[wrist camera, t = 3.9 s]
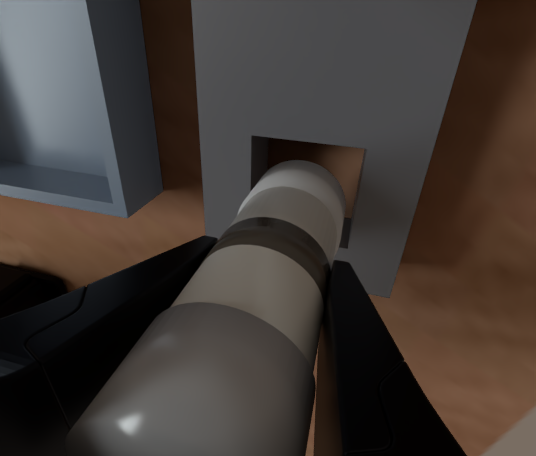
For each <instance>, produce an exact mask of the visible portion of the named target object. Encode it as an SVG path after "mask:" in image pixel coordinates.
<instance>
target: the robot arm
mask: <svg viewBox="0 0 536 456" xmlns="http://www.w3.org/2000/svg"><path fill="white" fill-rule="evenodd" d="M218 240H219V239H218V238H216V237H211V236H201V237H199V238H197V239H194V240H192V241H190V242H187V243H185V244H183V245H180V246H178V247H176V248H173V249H171V250H169V251H166V252H164V253H161V254H159V255H157V256H154V257H152V258H150V259H147V260H145V261H143V262H140V263H138V264H135V265H133V266H131V267H128V268H126V269H124V270H121V271H119V272H117V273H114V274H112V275H110V276H107V277H105V278H102V279H100V280H98V281H95V282H93V283H91V284H88V285H87V287H86V286H83V287H81V288H79V289H76V290H74V291H72V292H69V293H67V292H66V289H65V286H64V284H63V282H62V281H61V280H60V279H59V278H56V277H53V276H48V275H44V274H40V273H36V272H31V271H27V270H23V269H18V268H14V267H10V266H6V265H1V264H0V456H67V455H66V451H65V439H66V436H67V434H68V433H69V431H70V430H71V429H72V427H73V426H74V425H75V423H76V422H77V421H78V419H79V418H80V417H81V415H82V414H83V413H84V411H85V410H86V409H87V407H88V406H89V405H90V403H91V402H92V401H93V399H94V398H95V397H96V396H97V394H98V393H99V392H100V390H101V389H102V388H103V386H104V385H105V384H106V382H107V381H108V380H109V378H110V377H111V376H112V374H113V373H114V372H115V370H116V369H117V368H118V366H119V365H120V364H121V362H122V361H123V360H124V359H125V357H126V356H127V355H128V353H129V352H130V351H131V349H132V348H133V347H134V345H135V344H136V343H137V341H138V340H139V339H140V337H141V336H142V335H143V333H144V332H145V331H146V329H147V328H148V327H149V325H150V324H151V323H152V322H153V320H154V319H155V318H156V317H157V316H158V315H159V314H160V313H162V312H163V311H165V310H167V309H168V308H170V307H171V305H172V304H173V302H174V301H175V300H176V298H177V297H178V296H179V294H180V293H181V292H182V290H183V289H184V287H185V286H186V285H187V283H188V282H189V281H190V279H191V278H192V277H193V275H194V274H195V272H196V271H197V270H198V268H199V266H200V264H201V263H202V261H203V260H204V259H205V257H206V256H207V255H208V253H209V252H210V251H211V249H212V248H213V246H214V245H215V244H216V242H217V241H218ZM314 456H467V455H466V454H465V452H464V451H463V449H462V448H461V447H460V445H459V444H458V442H457V441H456V440H455V438H454V437H453V435H452V434H451V432H450V431H449V430H448V428H447V427H446V425H445V424H444V422H443V421H442V420H441V418H440V417H439V415H438V414H437V412H436V411H435V409H434V408H433V406H432V405H431V403H430V402H429V400H428V399H427V397H426V395H425V394H424V392H423V390H422V389H421V387H420V386H419V384H418V382H417V381H416V379H415V377H414V375H413V374H412V372H411V370H410V368H409V367H408V365H407V363H406V362H404V358H403V356H402V354H401V353H400V351H399V349H398V347H397V345H396V344H395V342H394V340H393V338H392V337H391V335H390V333H389V331H388V330H387V328H386V326H385V324H384V322H383V321H382V319H381V317H380V315H379V314H378V312H377V310H376V308H375V306H374V305H373V303H372V301H371V299H370V298H369V296H368V294H367V292H366V291H365V289H364V287H363V285H362V283H361V282H360V280H359V278H358V276H357V275H356V273H355V271H354V269H353V267H352V266H351V264H350V263H349V262H346V261H340V260H334V261H333V263H332V268H331V273H330V279H329V284H328V290H327V296H326V303H325V311H324V317H323V322H322V326H321V331H320V337H319V345H318V361H317V385H316V409H315V433H314Z"/></svg>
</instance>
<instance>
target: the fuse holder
mask: <svg viewBox="0 0 536 456" xmlns="http://www.w3.org/2000/svg"><path fill="white" fill-rule="evenodd" d="M476 3H477V0H191V7H192V23H193V39H194V55H195V71H196V87H197V103H198V119H199V135H200V151H201V167H202V183H203V199H204V216H205V232H206V236H211V237H216V238H218V239H219V238H220V237H221V236H222V234H223V233H224V232H225V231H226V230H227V229H228V227H229V226H230V225H231V223H232V222H233V221H234V219H235V218H236V217H237V215H238V211H239V209H240V206H241V205H242V203H243V201H244V200H245V199H246V197H247V196H248V195H249V193H250V192H251V191H252V189H253V188H254V187H255V185H256V184H257V183H258V181H259V180H260V179H261V178H262V176H263V175H264V174H265V173H266V172H267V166H268V142H269V137H270V138H279V139H287V140H296V141H304V142H313V143H321V144H330V145H338V146H347V147H355V148H364V149H365V150H364V155H363V160H362V166H361V171H360V176H359V181H358V187H357V192H356V197H355V203H354V208H353V213H352V218H351V219H348V218H344V221H343V228H342V234H341V240H340V244H339V248H338V250H337V253H336V254H335V256H334V259H333V261H334V260H340V261H346V262H349V263H350V264H351V266H352V267H353V269H354V271H355V273H356V275H357V276H358V278H359V280H360V282H361V283H362V285H363V287H364V289H365V291H366V292H367V294H371V295H376V296H381V297H386V298H390V295H391V291H392V288H393V285H394V281H395V278H396V274H397V271H398V268H399V264H400V261H401V257H402V254H403V251H404V247H405V244H406V240H407V237H408V234H409V230H410V227H411V224H412V220H413V217H414V213H415V210H416V207H417V203H418V200H419V196H420V193H421V190H422V186H423V183H424V179H425V176H426V173H427V169H428V166H429V162H430V159H431V156H432V152H433V149H434V146H435V142H436V139H437V135H438V132H439V129H440V125H441V122H442V118H443V115H444V112H445V108H446V105H447V101H448V98H449V95H450V91H451V88H452V84H453V81H454V78H455V74H456V71H457V67H458V64H459V61H460V57H461V54H462V51H463V47H464V44H465V40H466V37H467V34H468V30H469V27H470V23H471V20H472V17H473V13H474V10H475V6H476Z"/></svg>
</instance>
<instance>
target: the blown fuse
mask: <svg viewBox="0 0 536 456" xmlns="http://www.w3.org/2000/svg"><path fill="white" fill-rule="evenodd" d="M345 208H346V202H345V195H344V192H343V189H342V187H341V185H340V183H339V182H338V181H337V179H336V178H335V177H334V176H333V175H332V174H331V173H330V172H329V171H328V170H326V169H325V168H323V167H322V166H320V165H318V164H315V163H312V162H309V161H304V160H290V161H285V162H282V163H279V164H277V165H275V166H273V167H272V168H270V169H269V170H268V171H267V172H266V173H265V174H264V175H263V176H262V178H261V179H260V180H259V181H258V183H257V184H256V185H255V187H254V188H253V189H252V191H251V192H250V193H249V195H248V196H247V197H246V199H245V200H244V201H243V203H242V205H241V206H240V209H239V211H238V215H237V217H236V218H235V219H234V221H233V222H232V223H231V225H230V226H229V227H228V229H227V230H226V231H225V232H224V233H223V234H222V236H221V237H220V238H219V240H218V241H217V242H216V244H215V245H214V246H213V248H212V249H211V251H210V252H209V253H208V255H207V256H206V257H205V259H204V260H203V261H202V263H201V264H200V266H199V268H198V270H197V271H196V272H195V274H194V275H193V277H192V278H191V279H190V281H189V282H188V283H187V285H186V286H185V287H184V289H183V290H182V292H181V293H180V294H179V296H178V297H177V298H176V300H175V301H174V302H173V304H172V305H171V307H170V308H168V309H167V310H165V311H163V312H162V313H160V314H159V315H158V316H157V317H156V318H155V319H154V320H153V322H152V323H151V324H150V325H149V327H148V328H147V329H146V331H145V332H144V333H143V335H142V336H141V337H140V339H139V340H138V341H137V343H136V344H135V345H134V347H133V348H132V349H131V351H130V352H129V353H128V355H127V356H126V357H125V359H124V360H123V361H122V362H121V364H120V365H119V366H118V368H117V369H116V370H115V372H114V373H113V374H112V376H111V377H110V378H109V380H108V381H107V382H106V384H105V385H104V386H103V388H102V389H101V390H100V392H99V393H98V394H97V396H96V397H95V398H94V399H93V401H92V402H91V403H90V405H89V406H88V407H87V409H86V410H85V411H84V413H83V414H82V415H81V417H80V418H79V419H78V421H77V422H76V423H75V425H74V426H73V427H72V429H71V430H70V431H69V433H68V434H67V436H66V439H65V451H66V455H67V456H305V454H306V448H307V442H308V436H309V430H310V424H311V417H312V411H313V405H314V399H315V391H316V385H315V378H314V375H313V370H314V365H315V359H316V354H317V348H318V343H319V337H320V331H321V326H322V322H323V317H324V311H325V303H326V296H327V290H328V284H329V279H330V273H331V268H332V263H333V259H334V256H335V254H336V253H337V250H338V248H339V244H340V240H341V234H342V228H343V221H344V215H345Z"/></svg>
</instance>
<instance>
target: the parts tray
mask: <svg viewBox="0 0 536 456" xmlns="http://www.w3.org/2000/svg"><path fill="white" fill-rule="evenodd" d="M161 192H163V184H162V177H161V169H160V161H159V153H158V145H157V137H156V129H155V122H154V114H153V106H152V98H151V90H150V82H149V74H148V67H147V59H146V51H145V43H144V35H143V27H142V19H141V12H140V4H139V0H0V195H3V196H9V197H14V198H20V199H25V200H31V201H36V202H42V203H47V204H53V205H58V206H64V207H69V208H74V209H80V210H85V211H91V212H96V213H102V214H107V215H113V216H118V217H124V218H129V217H130V216H131V215H133V214H134V213H135V212H137V211H138V210H139V209H141V208H142V207H143V206H144V205H146V204H147V203H148V202H150V201H151V200H152V199H153V198H155V197H156V196H157V195H159V194H160V193H161Z"/></svg>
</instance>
